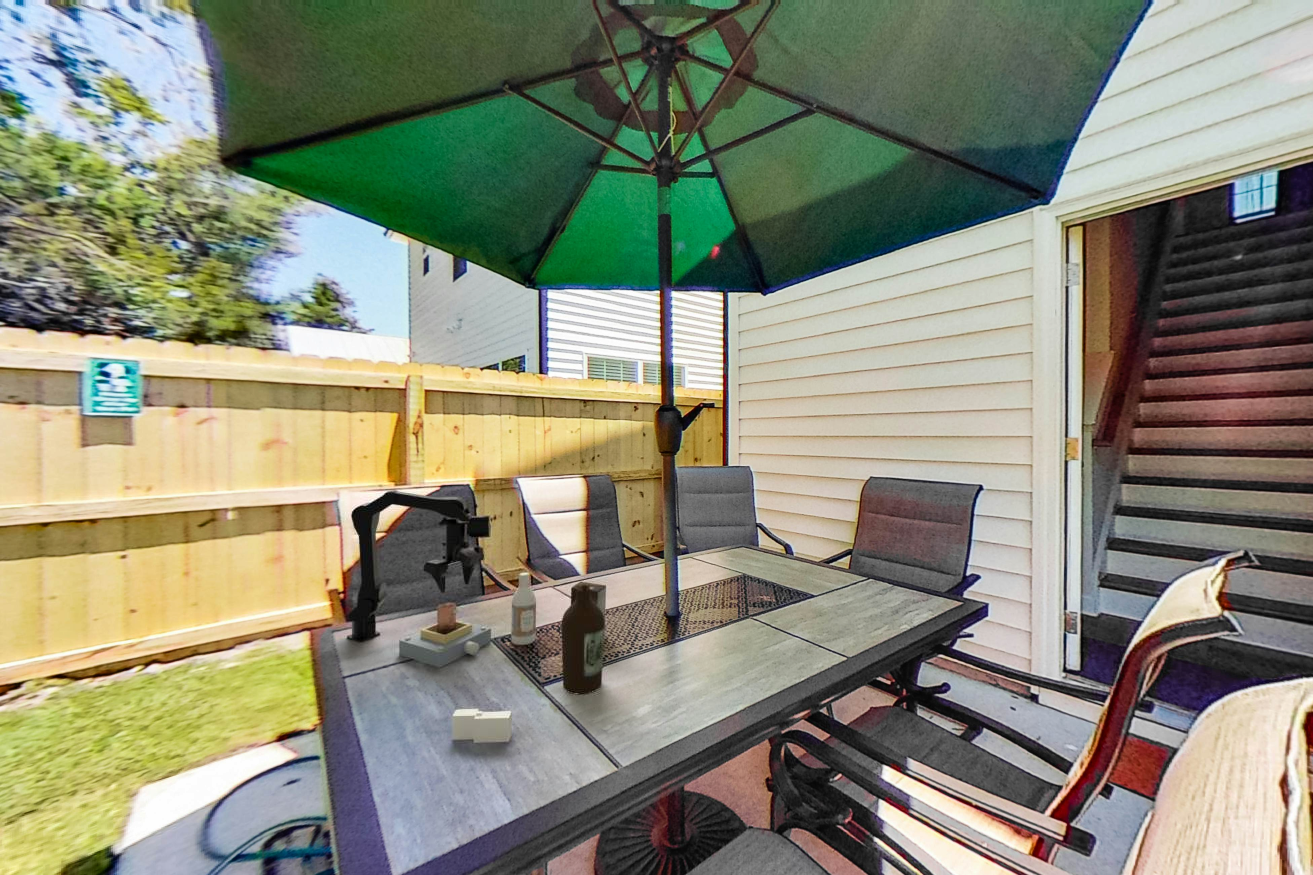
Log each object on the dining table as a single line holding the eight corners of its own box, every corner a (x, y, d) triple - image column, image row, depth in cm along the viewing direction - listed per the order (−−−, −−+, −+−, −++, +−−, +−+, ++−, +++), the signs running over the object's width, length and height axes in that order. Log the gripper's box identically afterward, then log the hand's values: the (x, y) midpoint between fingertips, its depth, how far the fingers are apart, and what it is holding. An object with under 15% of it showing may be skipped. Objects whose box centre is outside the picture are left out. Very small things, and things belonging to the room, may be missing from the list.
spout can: (433, 635, 140) (433, 606, 140) (447, 628, 145) (447, 601, 145) (450, 639, 137) (450, 611, 137) (464, 633, 142) (464, 605, 142)
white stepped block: (527, 737, 102) (527, 709, 102) (480, 767, 93) (480, 737, 93) (481, 712, 111) (482, 687, 110) (434, 738, 101) (434, 710, 101)
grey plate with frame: (399, 654, 137) (399, 632, 137) (452, 631, 153) (452, 611, 153) (448, 670, 129) (448, 647, 129) (498, 643, 145) (498, 623, 145)
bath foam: (515, 647, 142) (516, 578, 142) (508, 639, 148) (509, 572, 148) (538, 642, 146) (539, 574, 146) (530, 634, 152) (531, 569, 152)
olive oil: (551, 686, 121) (552, 585, 121) (581, 670, 130) (583, 575, 129) (583, 701, 115) (584, 593, 115) (612, 682, 124) (614, 582, 123)
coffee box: (568, 640, 148) (569, 587, 147) (579, 632, 154) (579, 581, 153) (596, 645, 145) (597, 590, 144) (606, 637, 151) (606, 584, 150)
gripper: (449, 547, 142) (449, 601, 142) (497, 535, 159) (496, 584, 159) (422, 543, 147) (422, 595, 147) (471, 532, 163) (471, 579, 164)
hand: (455, 588), depth 154 cm, fingers open, 9 cm apart
